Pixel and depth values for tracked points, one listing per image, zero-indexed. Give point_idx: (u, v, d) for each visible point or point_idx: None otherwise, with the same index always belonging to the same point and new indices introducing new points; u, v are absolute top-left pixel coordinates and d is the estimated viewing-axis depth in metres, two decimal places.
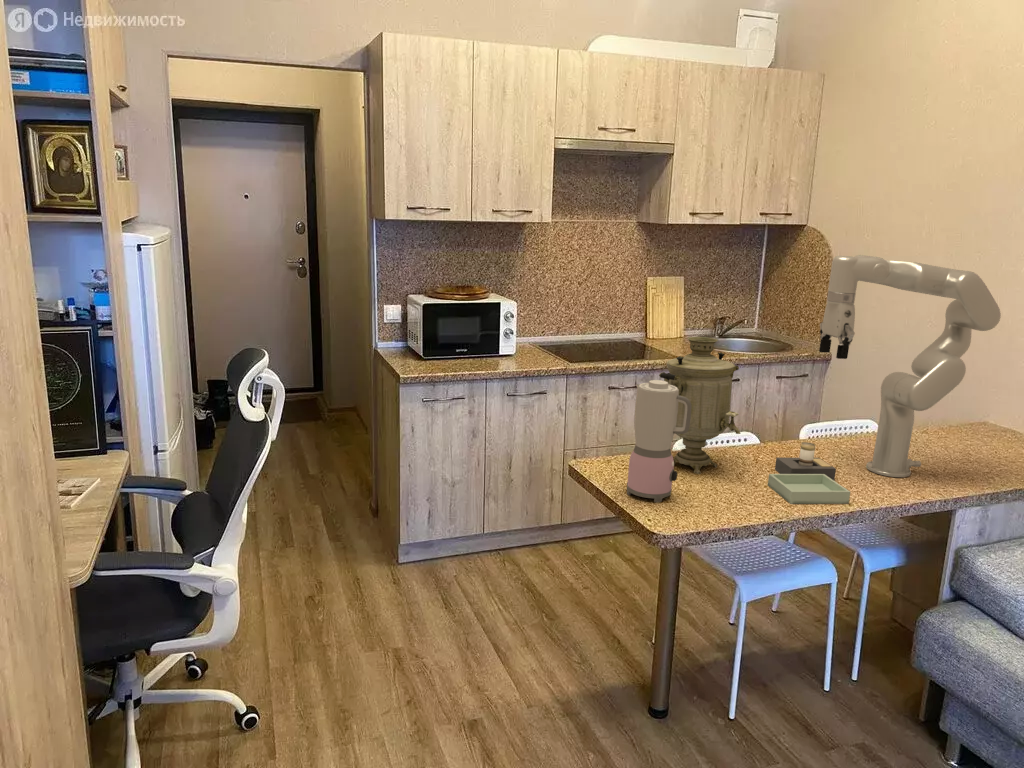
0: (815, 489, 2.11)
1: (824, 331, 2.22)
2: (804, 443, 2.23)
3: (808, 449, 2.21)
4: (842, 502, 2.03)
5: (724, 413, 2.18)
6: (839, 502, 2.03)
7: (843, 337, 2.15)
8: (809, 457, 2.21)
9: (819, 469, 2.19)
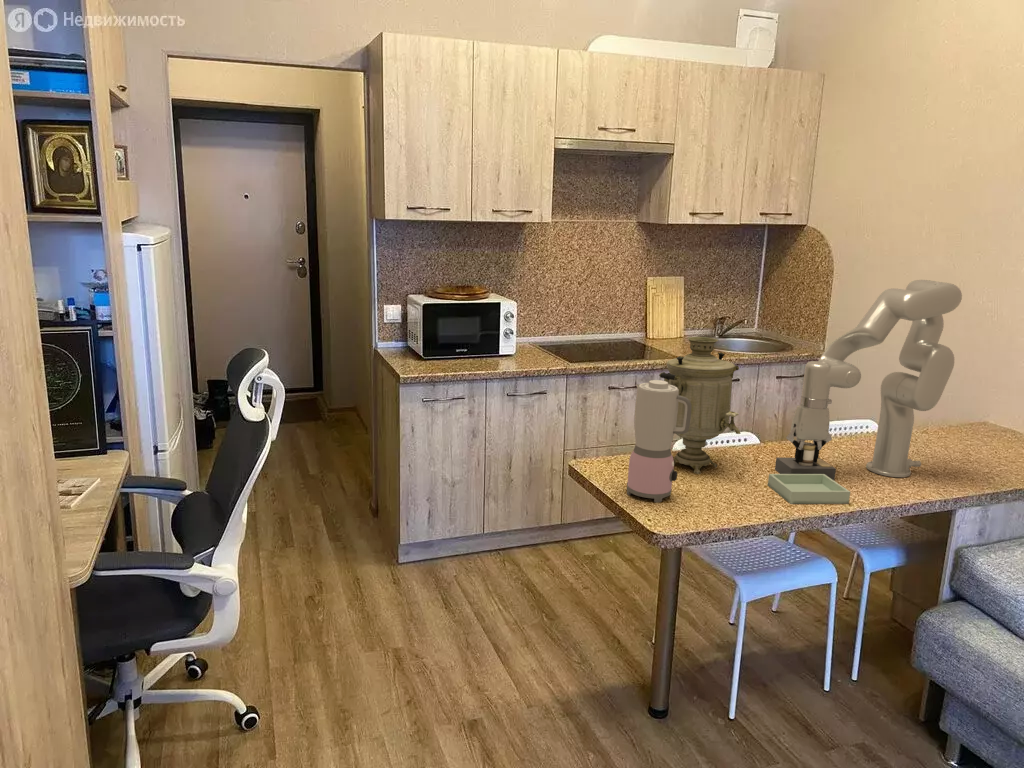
0: (815, 489, 2.11)
1: (803, 438, 2.19)
2: (804, 443, 2.23)
3: (808, 449, 2.21)
4: (842, 502, 2.03)
5: (724, 413, 2.18)
6: (839, 502, 2.03)
7: None
8: (809, 457, 2.21)
9: (819, 469, 2.19)
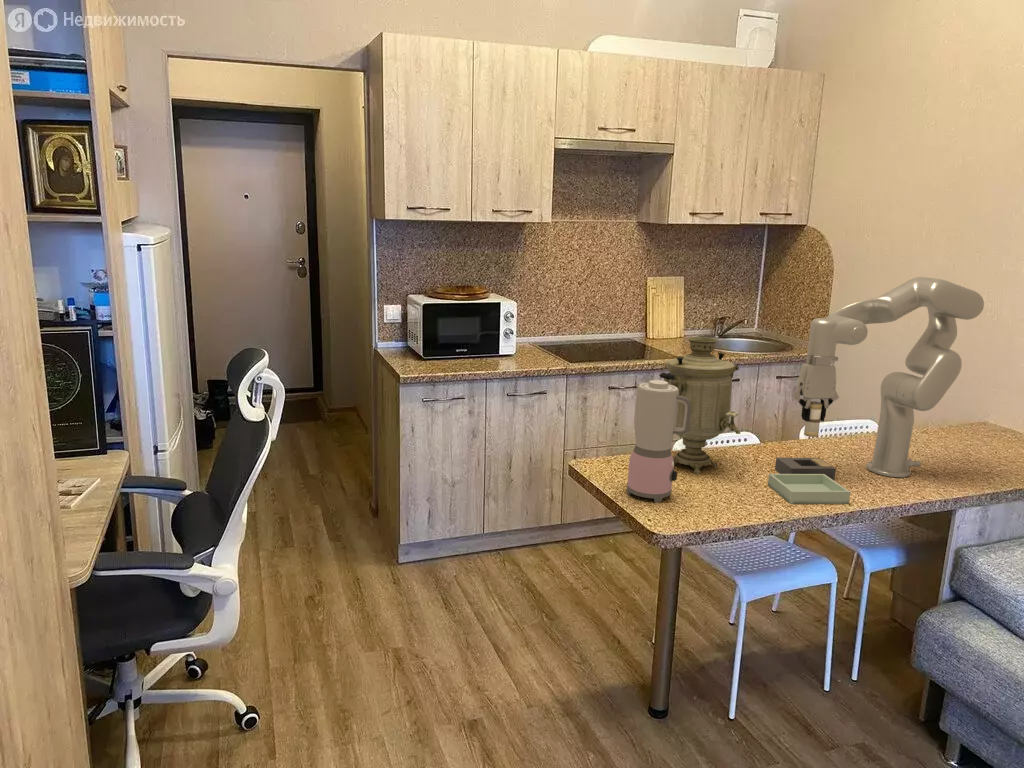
0: (815, 489, 2.11)
1: (810, 396, 2.16)
2: (811, 402, 2.20)
3: (815, 408, 2.18)
4: (842, 502, 2.03)
5: (724, 413, 2.18)
6: (839, 502, 2.03)
7: None
8: (815, 416, 2.18)
9: (819, 469, 2.19)
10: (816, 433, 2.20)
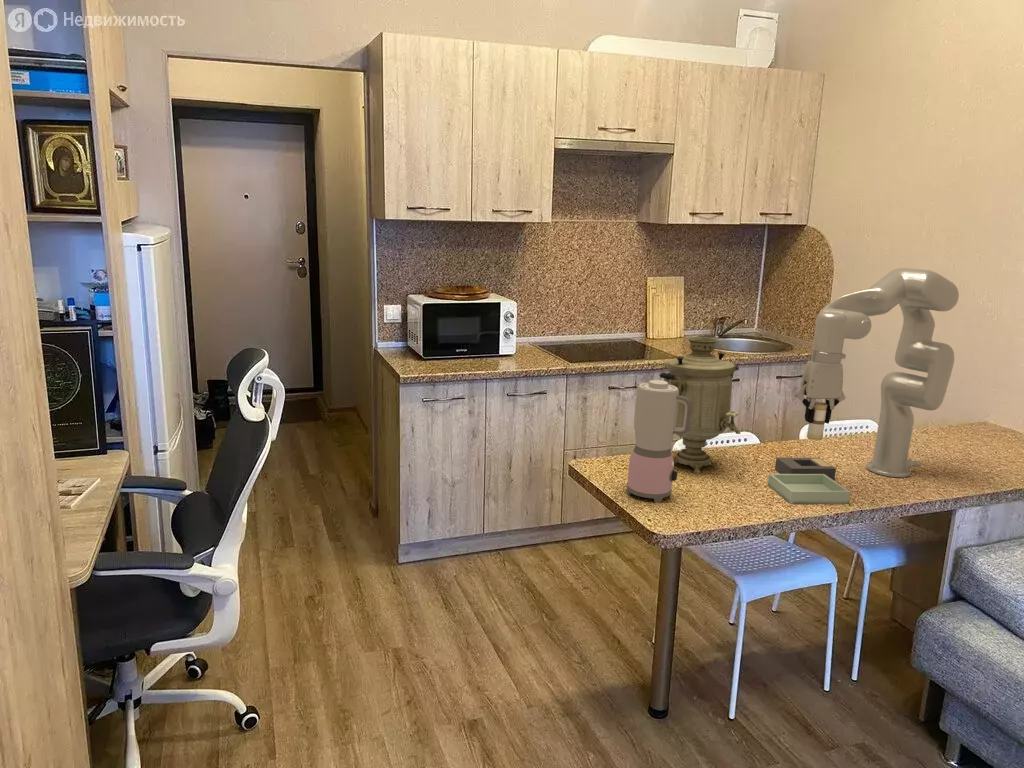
0: (815, 489, 2.11)
1: (814, 396, 2.00)
2: (815, 402, 2.04)
3: (819, 408, 2.02)
4: (842, 502, 2.03)
5: (724, 413, 2.18)
6: (839, 502, 2.03)
7: None
8: (820, 417, 2.02)
9: (819, 469, 2.19)
10: (820, 436, 2.03)
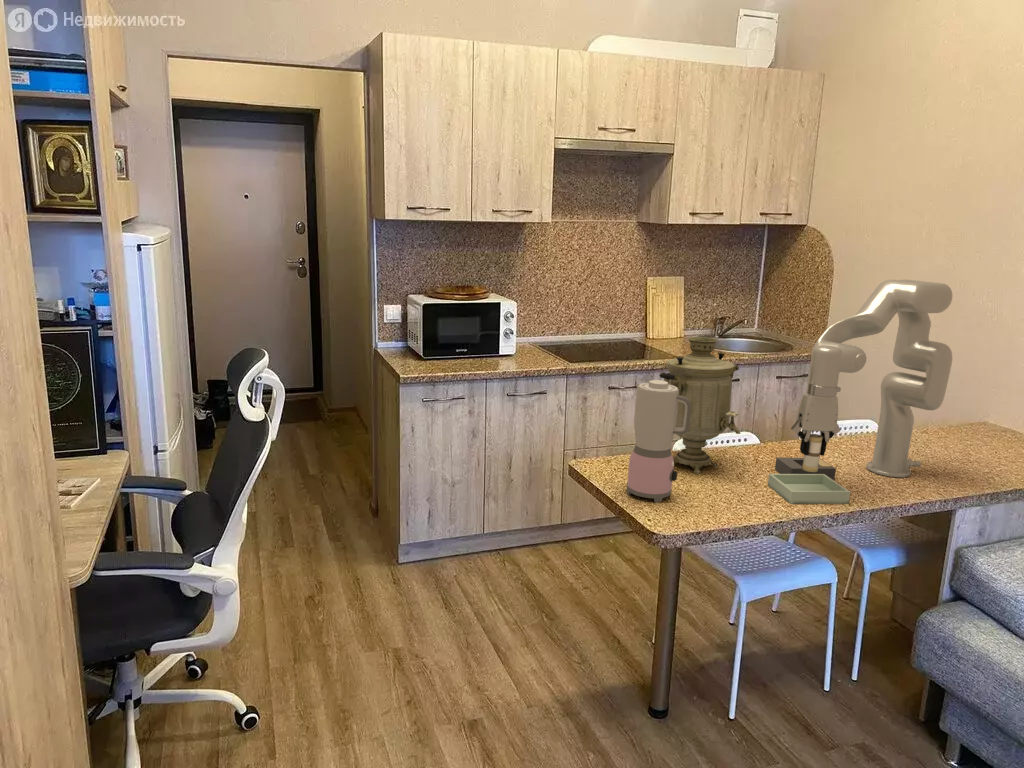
0: (815, 489, 2.11)
1: (810, 428, 2.02)
2: (810, 434, 2.05)
3: (815, 441, 2.03)
4: (842, 502, 2.03)
5: (724, 413, 2.18)
6: (839, 502, 2.03)
7: None
8: (815, 450, 2.04)
9: (819, 469, 2.19)
10: (815, 468, 2.05)
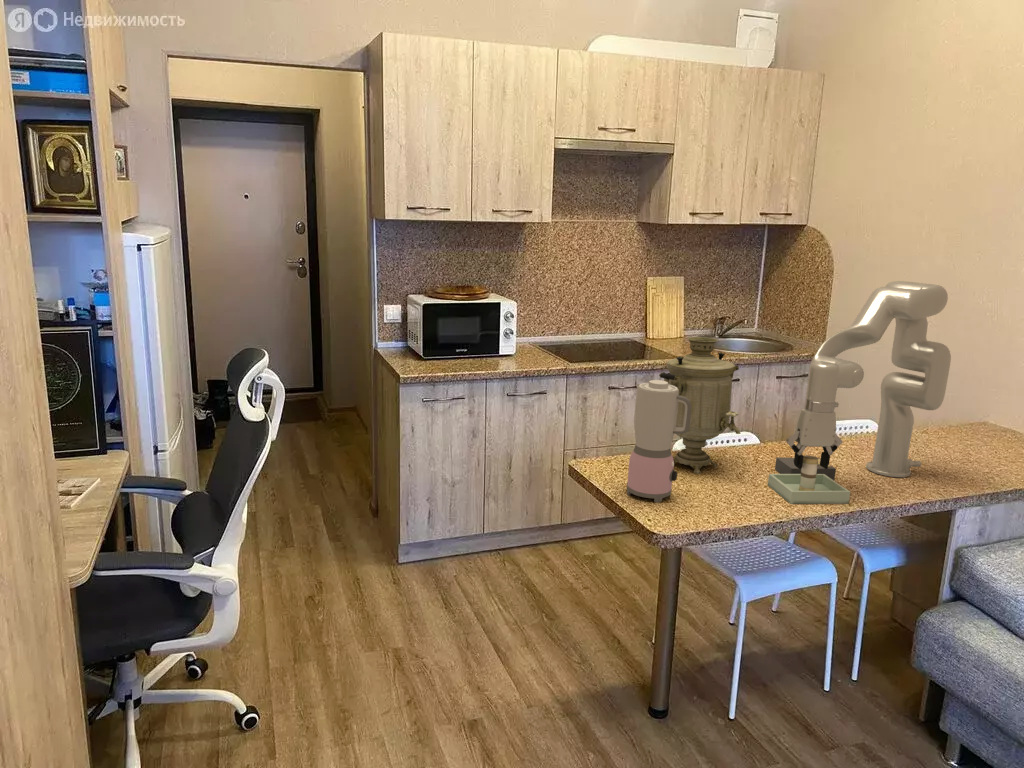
0: (815, 489, 2.11)
1: (808, 444, 2.03)
2: (806, 456, 2.07)
3: (811, 463, 2.05)
4: (842, 502, 2.03)
5: (724, 413, 2.18)
6: (839, 502, 2.03)
7: None
8: (811, 471, 2.06)
9: (819, 469, 2.19)
10: (812, 489, 2.07)
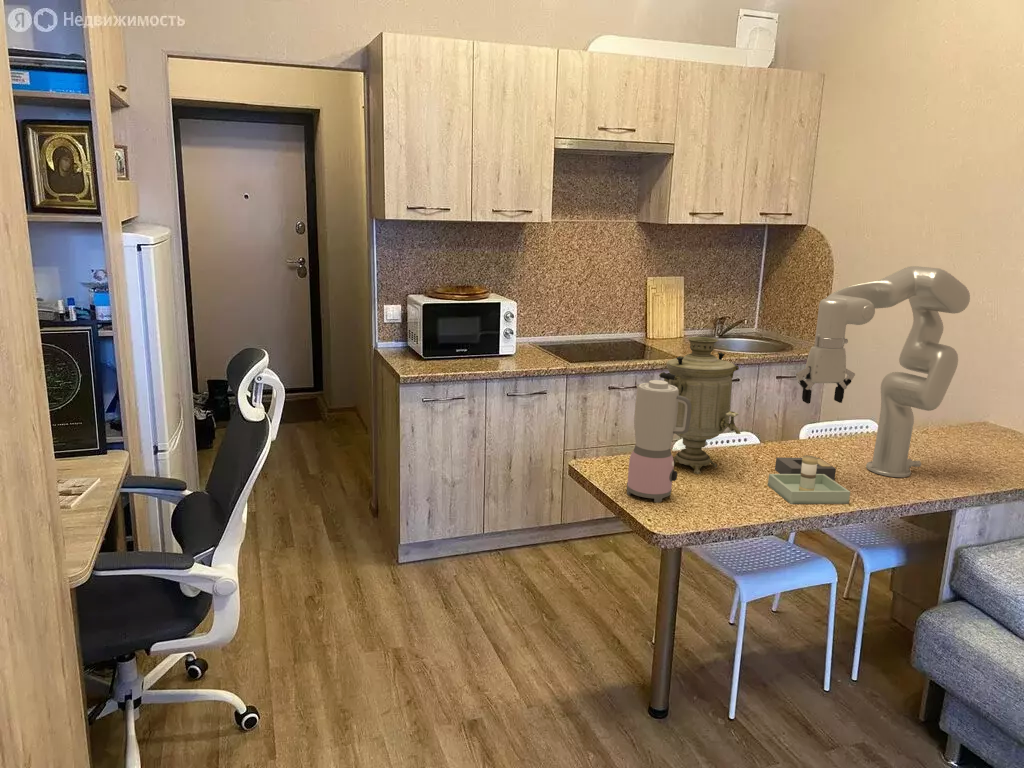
0: (815, 489, 2.11)
1: (819, 380, 2.06)
2: (805, 457, 2.07)
3: (810, 463, 2.05)
4: (842, 502, 2.03)
5: (724, 413, 2.18)
6: (839, 502, 2.03)
7: None
8: (811, 471, 2.06)
9: (819, 469, 2.19)
10: (812, 489, 2.07)
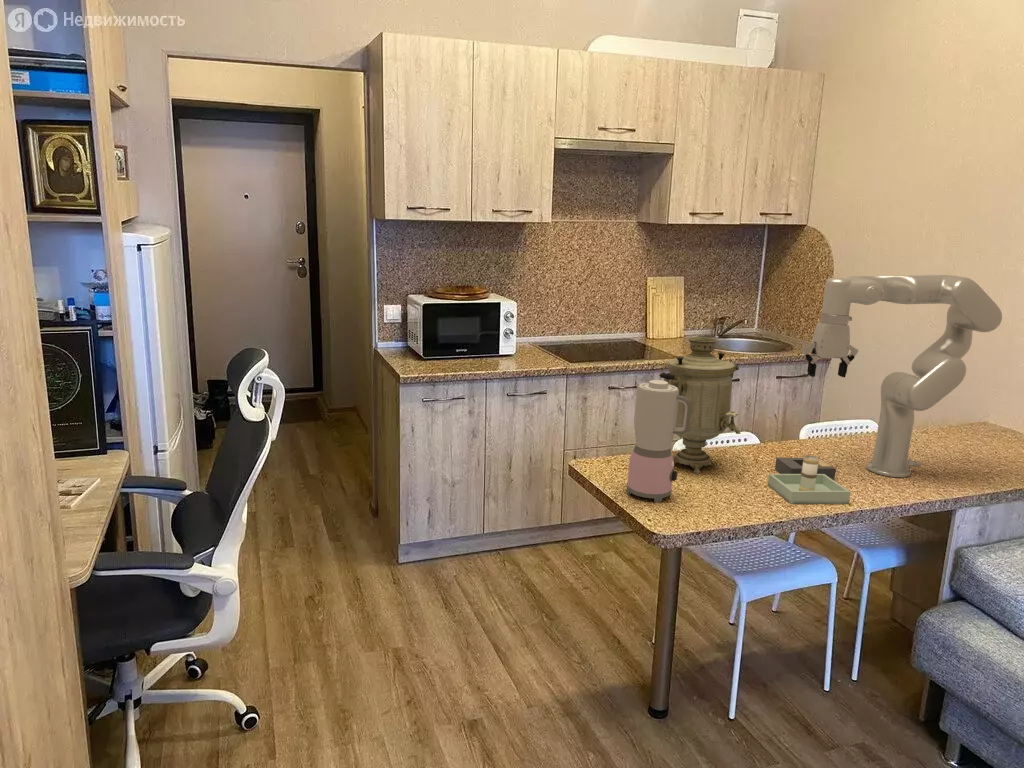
0: (815, 489, 2.11)
1: (824, 355, 2.18)
2: (807, 456, 2.07)
3: (812, 463, 2.05)
4: (842, 502, 2.03)
5: (724, 413, 2.18)
6: (839, 502, 2.03)
7: None
8: (812, 471, 2.06)
9: (819, 469, 2.19)
10: (812, 489, 2.07)
